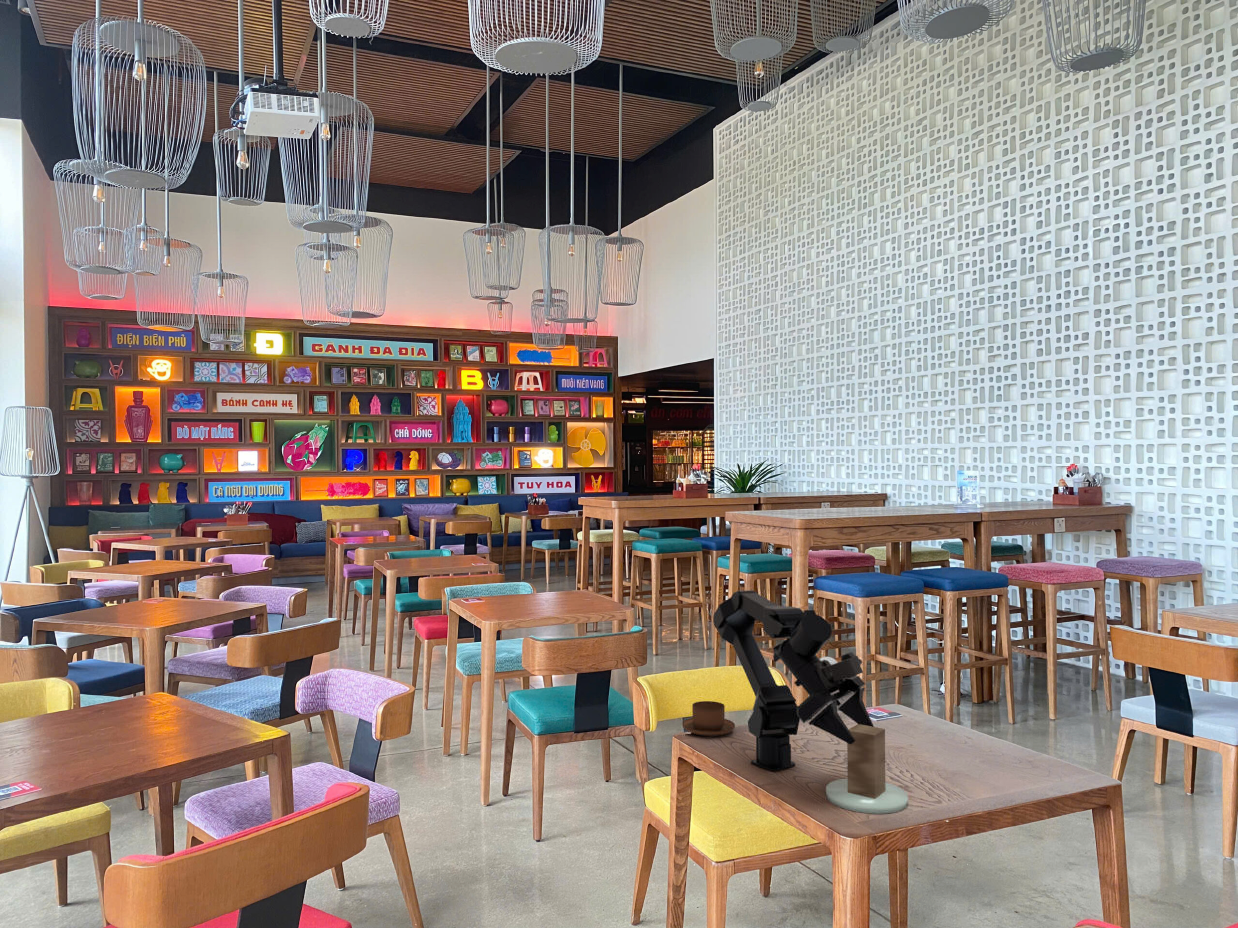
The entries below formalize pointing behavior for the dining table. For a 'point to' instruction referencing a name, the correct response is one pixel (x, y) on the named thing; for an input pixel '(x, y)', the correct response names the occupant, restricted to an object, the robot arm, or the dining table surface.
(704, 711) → the cup and saucer
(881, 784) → the walnut block
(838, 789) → the dish
